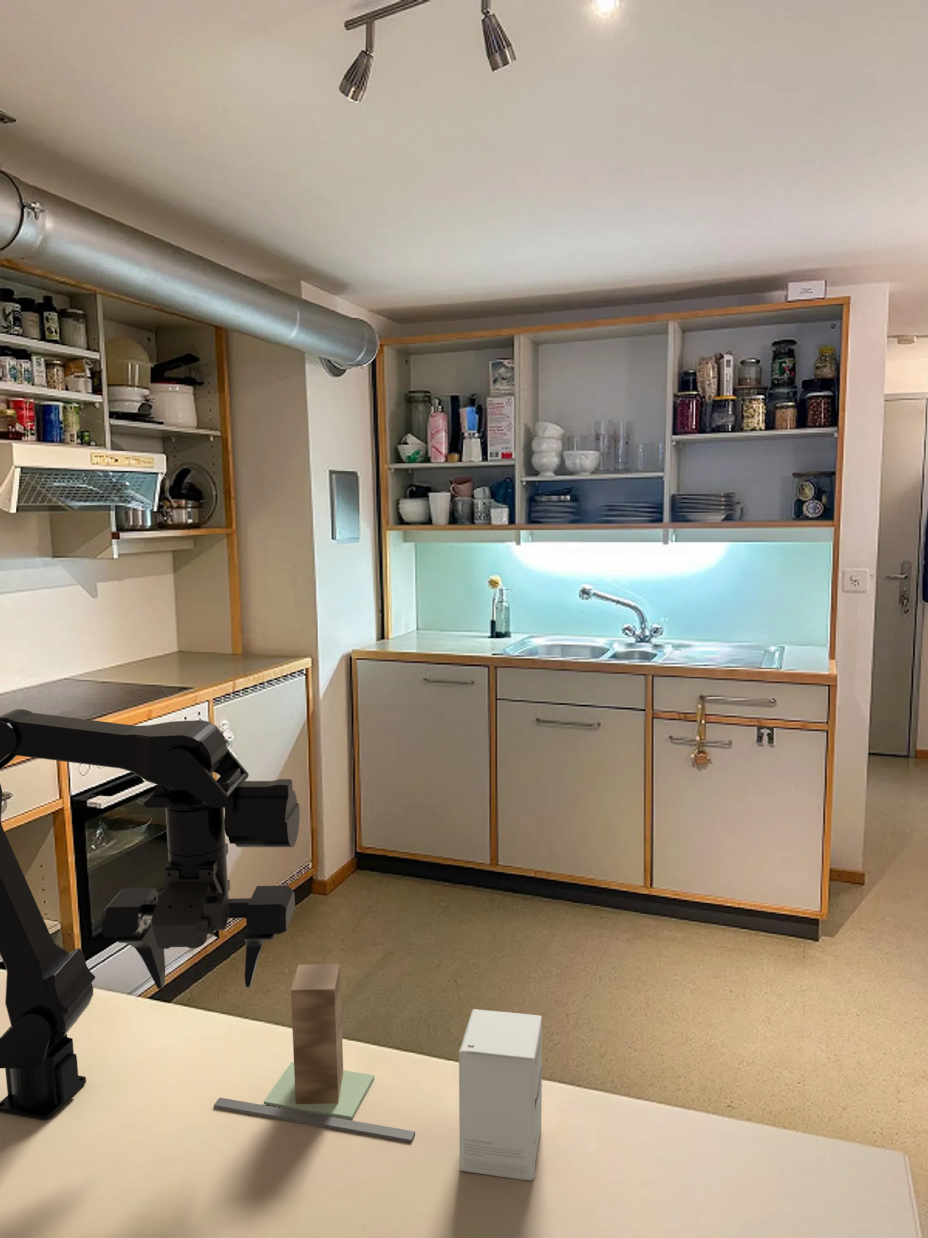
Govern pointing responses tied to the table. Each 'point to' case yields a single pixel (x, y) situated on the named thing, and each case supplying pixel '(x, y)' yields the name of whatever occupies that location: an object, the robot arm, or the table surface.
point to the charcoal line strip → (315, 1119)
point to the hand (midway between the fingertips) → (205, 986)
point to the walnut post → (317, 1033)
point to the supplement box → (500, 1094)
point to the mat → (346, 1108)
